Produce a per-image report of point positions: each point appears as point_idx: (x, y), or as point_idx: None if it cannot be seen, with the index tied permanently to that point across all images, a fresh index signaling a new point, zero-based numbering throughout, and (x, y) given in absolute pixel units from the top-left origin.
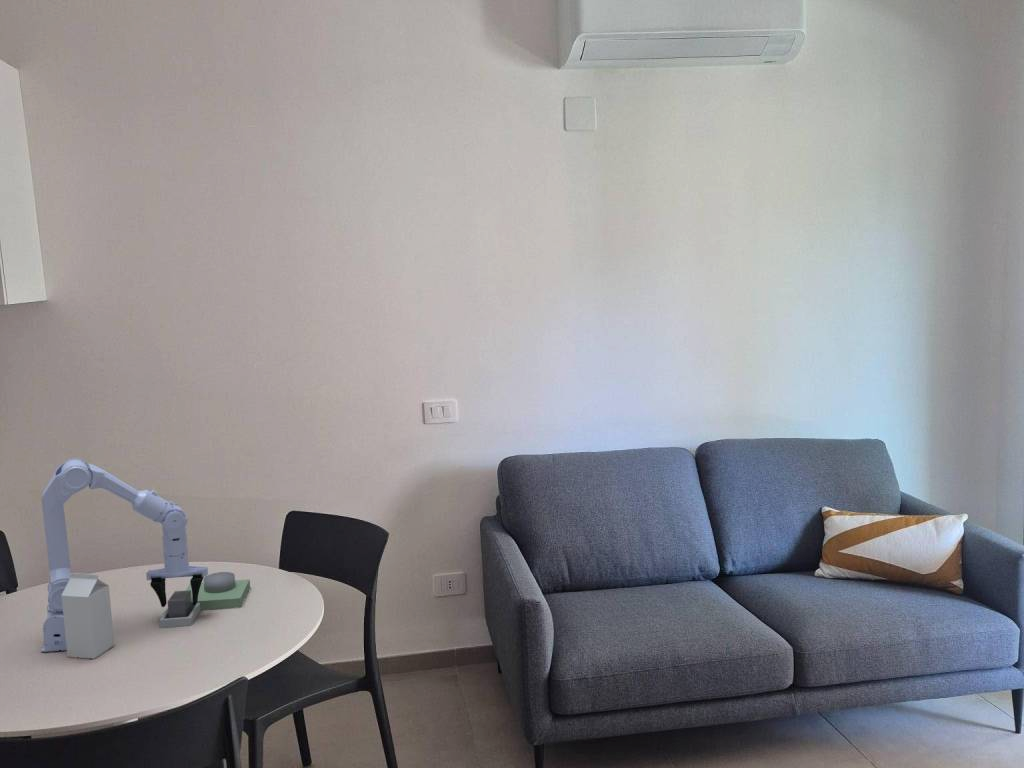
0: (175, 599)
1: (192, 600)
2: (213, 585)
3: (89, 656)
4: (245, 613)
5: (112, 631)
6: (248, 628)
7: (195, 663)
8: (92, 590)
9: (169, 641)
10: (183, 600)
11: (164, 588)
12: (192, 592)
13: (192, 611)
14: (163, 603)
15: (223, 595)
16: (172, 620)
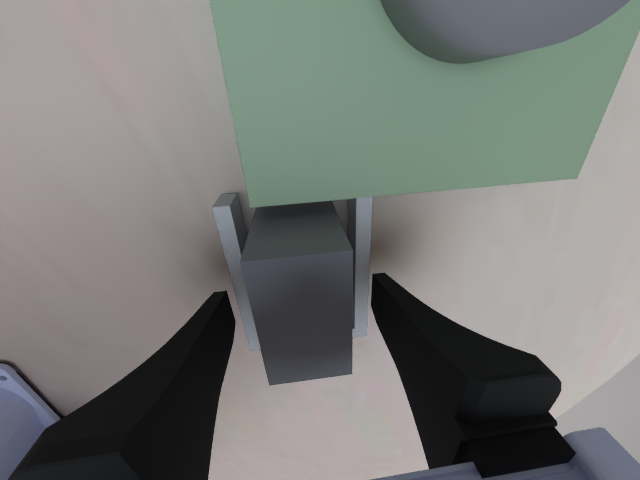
0: (301, 365)
1: (379, 328)
2: (485, 50)
3: None
4: (538, 231)
5: None
6: (525, 331)
7: (407, 448)
8: None
9: (323, 390)
10: (349, 373)
11: (194, 370)
12: (401, 375)
13: (358, 287)
14: (232, 343)
15: (502, 121)
16: None
